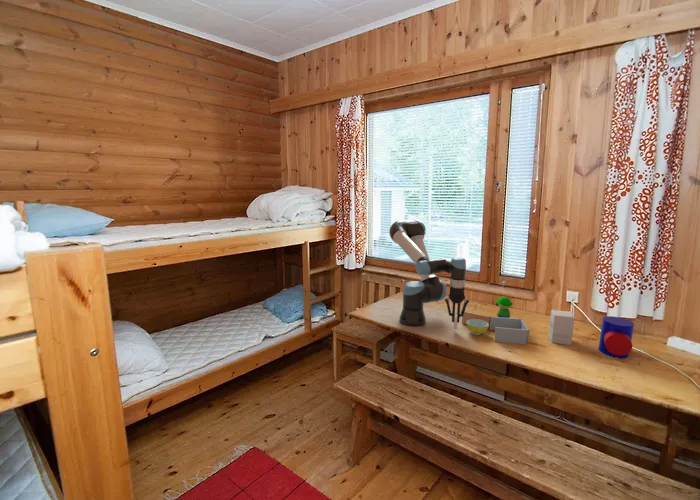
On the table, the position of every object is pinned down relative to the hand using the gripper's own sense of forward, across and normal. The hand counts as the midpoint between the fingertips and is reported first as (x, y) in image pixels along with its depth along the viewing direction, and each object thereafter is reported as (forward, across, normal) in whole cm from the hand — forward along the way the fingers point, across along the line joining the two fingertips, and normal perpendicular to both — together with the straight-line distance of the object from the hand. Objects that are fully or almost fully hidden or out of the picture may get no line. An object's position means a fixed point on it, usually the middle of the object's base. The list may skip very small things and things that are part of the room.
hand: (455, 327), depth 195 cm
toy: (+2, +28, +22) cm, 36 cm away
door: (+2, +12, +11) cm, 17 cm away
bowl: (+3, +11, 0) cm, 12 cm away
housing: (+2, +26, 0) cm, 26 cm away
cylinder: (+3, +74, -7) cm, 74 cm away
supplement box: (+3, +52, +1) cm, 52 cm away
